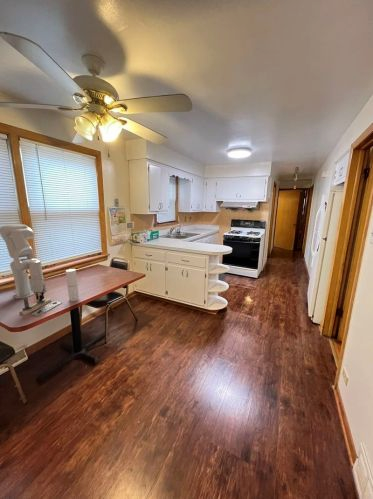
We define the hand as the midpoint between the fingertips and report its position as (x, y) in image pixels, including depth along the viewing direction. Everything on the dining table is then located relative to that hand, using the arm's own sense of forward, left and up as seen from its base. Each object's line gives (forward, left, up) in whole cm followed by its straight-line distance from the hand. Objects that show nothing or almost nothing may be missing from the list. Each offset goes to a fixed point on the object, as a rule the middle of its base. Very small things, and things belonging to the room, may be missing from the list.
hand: (40, 299), depth 161 cm
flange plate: (+10, -4, -5) cm, 12 cm away
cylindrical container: (+18, +14, -5) cm, 23 cm away
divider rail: (0, -4, -5) cm, 6 cm away
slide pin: (0, 0, -2) cm, 2 cm away
